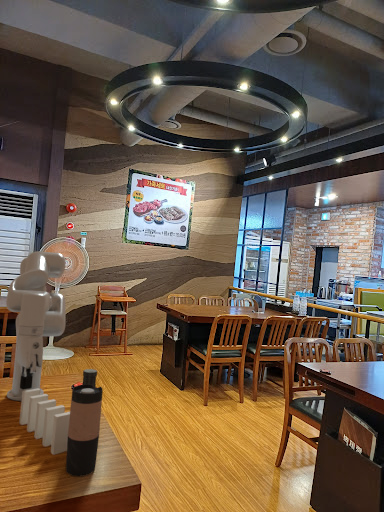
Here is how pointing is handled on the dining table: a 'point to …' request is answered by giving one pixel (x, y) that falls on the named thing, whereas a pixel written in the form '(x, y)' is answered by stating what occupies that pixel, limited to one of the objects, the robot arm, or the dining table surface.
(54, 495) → the dining table surface
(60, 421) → the domino
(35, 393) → the domino
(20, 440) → the dining table surface
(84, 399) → the travel mug
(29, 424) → the domino
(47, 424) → the domino
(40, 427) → the domino
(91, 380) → the sauce bottle
